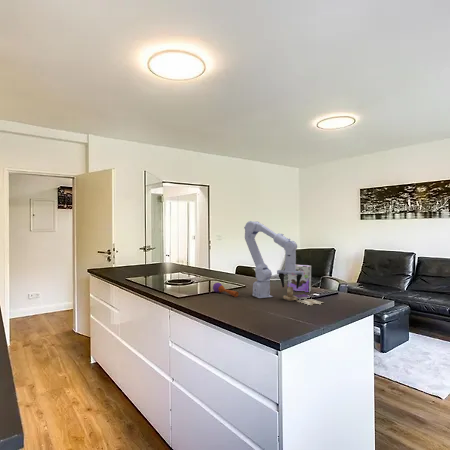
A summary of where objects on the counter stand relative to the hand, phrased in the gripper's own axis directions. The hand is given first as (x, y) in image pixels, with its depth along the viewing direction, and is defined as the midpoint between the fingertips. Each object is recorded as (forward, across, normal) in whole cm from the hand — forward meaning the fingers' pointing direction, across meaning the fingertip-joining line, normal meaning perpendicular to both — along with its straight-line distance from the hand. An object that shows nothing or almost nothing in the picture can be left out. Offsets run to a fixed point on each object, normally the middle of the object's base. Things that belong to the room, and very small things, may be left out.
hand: (290, 287), depth 177 cm
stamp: (+7, 0, 0) cm, 7 cm away
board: (+7, +11, -2) cm, 13 cm away
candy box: (+7, +1, +28) cm, 29 cm away
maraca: (+7, -38, 0) cm, 39 cm away
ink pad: (+7, +6, +7) cm, 11 cm away
